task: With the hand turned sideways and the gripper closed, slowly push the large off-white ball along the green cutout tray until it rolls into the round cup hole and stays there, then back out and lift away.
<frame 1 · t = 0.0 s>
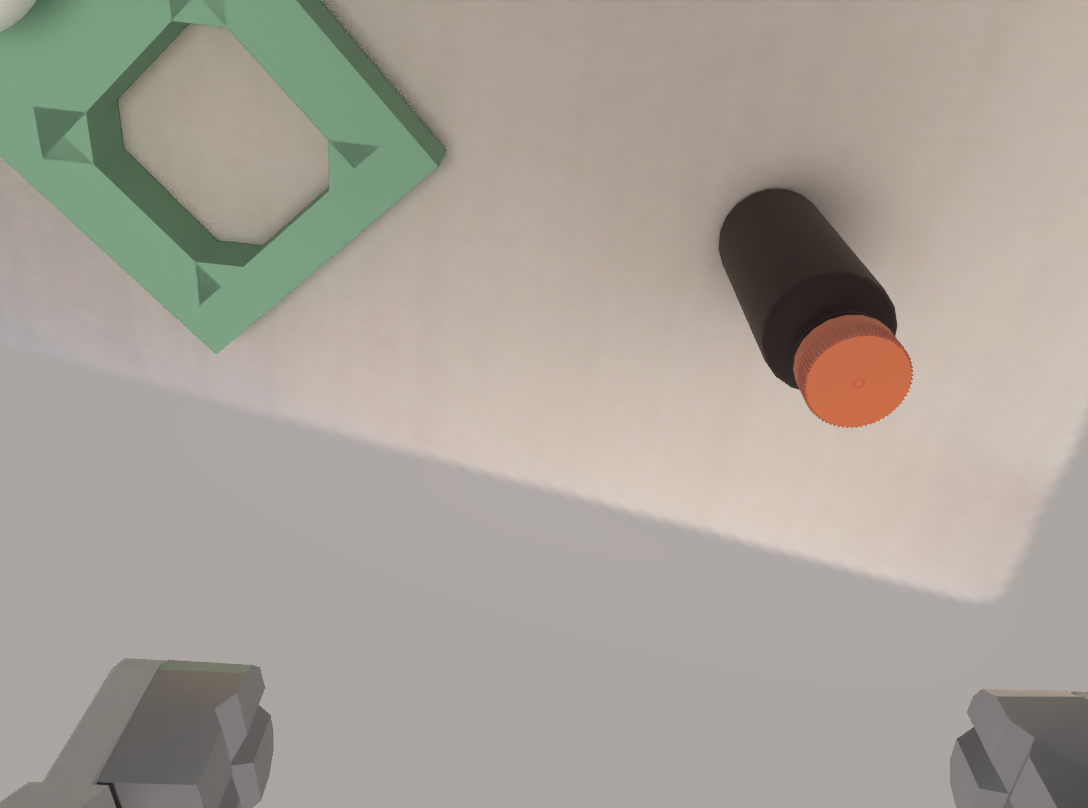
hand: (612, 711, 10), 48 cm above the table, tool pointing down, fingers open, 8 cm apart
bottle: (769, 237, 57), on the table
green cutout tray: (143, 43, 52), on the table
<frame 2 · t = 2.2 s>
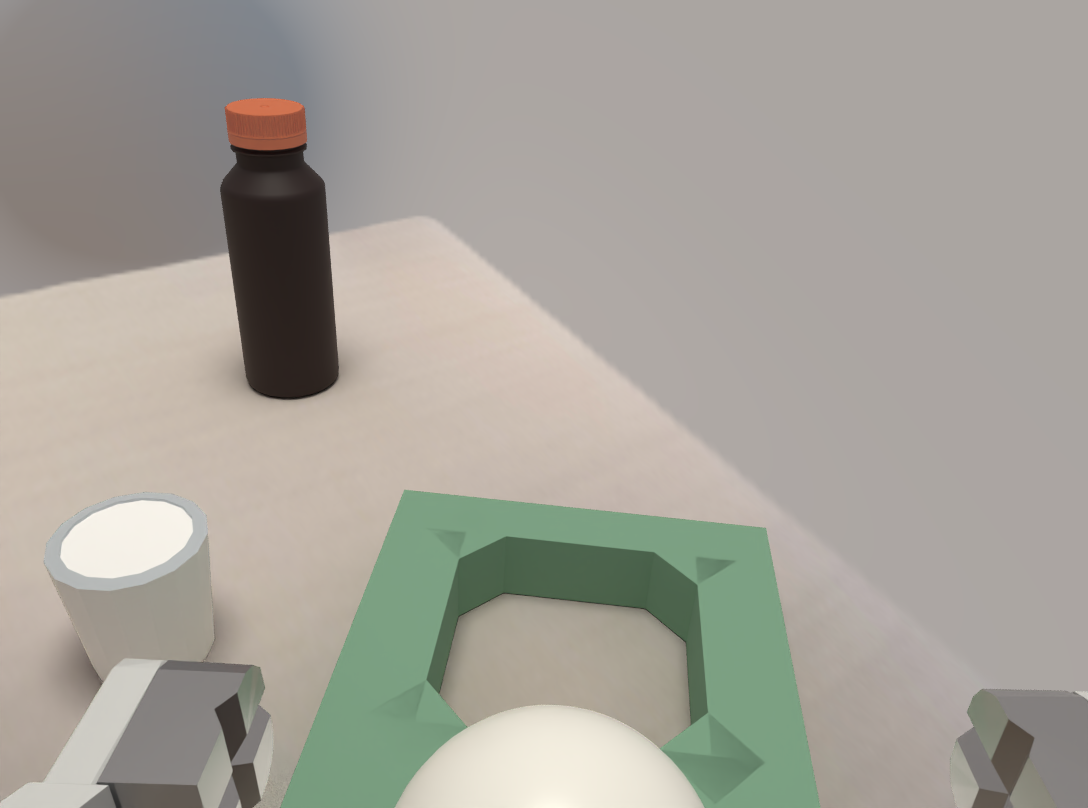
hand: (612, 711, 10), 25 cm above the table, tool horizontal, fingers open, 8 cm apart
white cup: (155, 647, 43), on the table
bottle: (294, 379, 66), on the table
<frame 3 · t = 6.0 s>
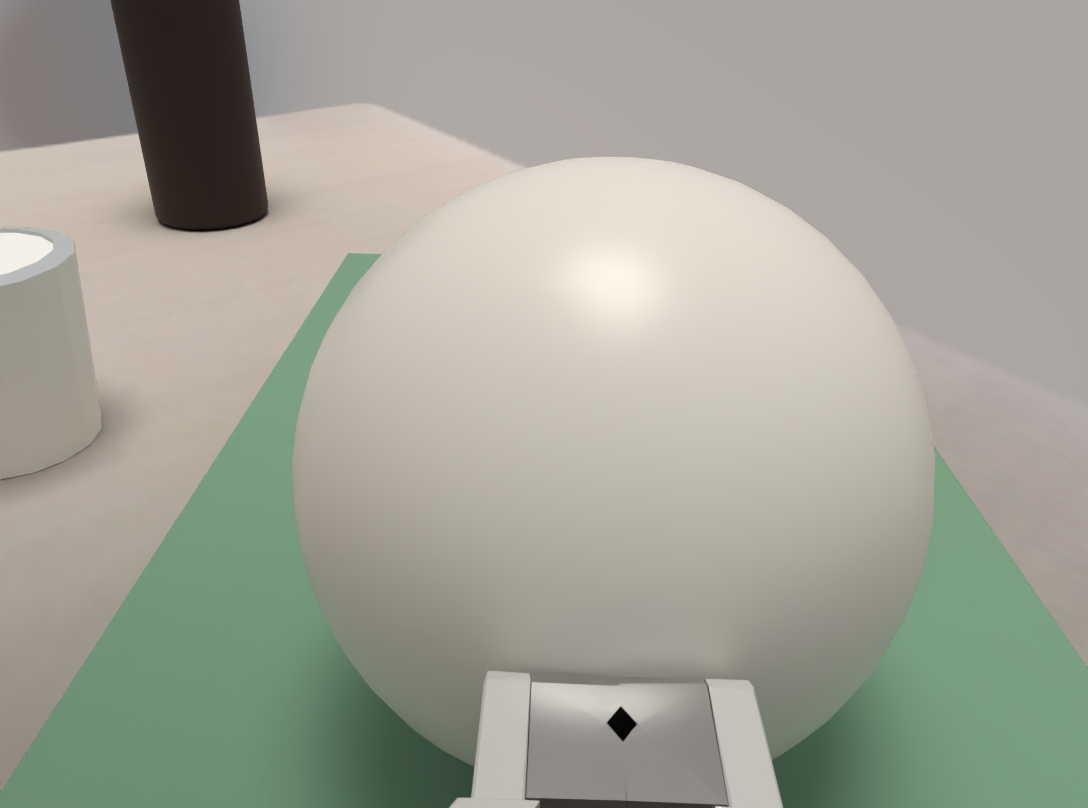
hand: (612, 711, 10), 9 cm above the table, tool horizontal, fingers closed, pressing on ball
white cup: (20, 442, 32), on the table
bottle: (214, 218, 55), on the table
green cutout tray: (578, 574, 26), on the table
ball: (605, 469, 14), point 9 cm above the table, touching green cutout tray, gripper
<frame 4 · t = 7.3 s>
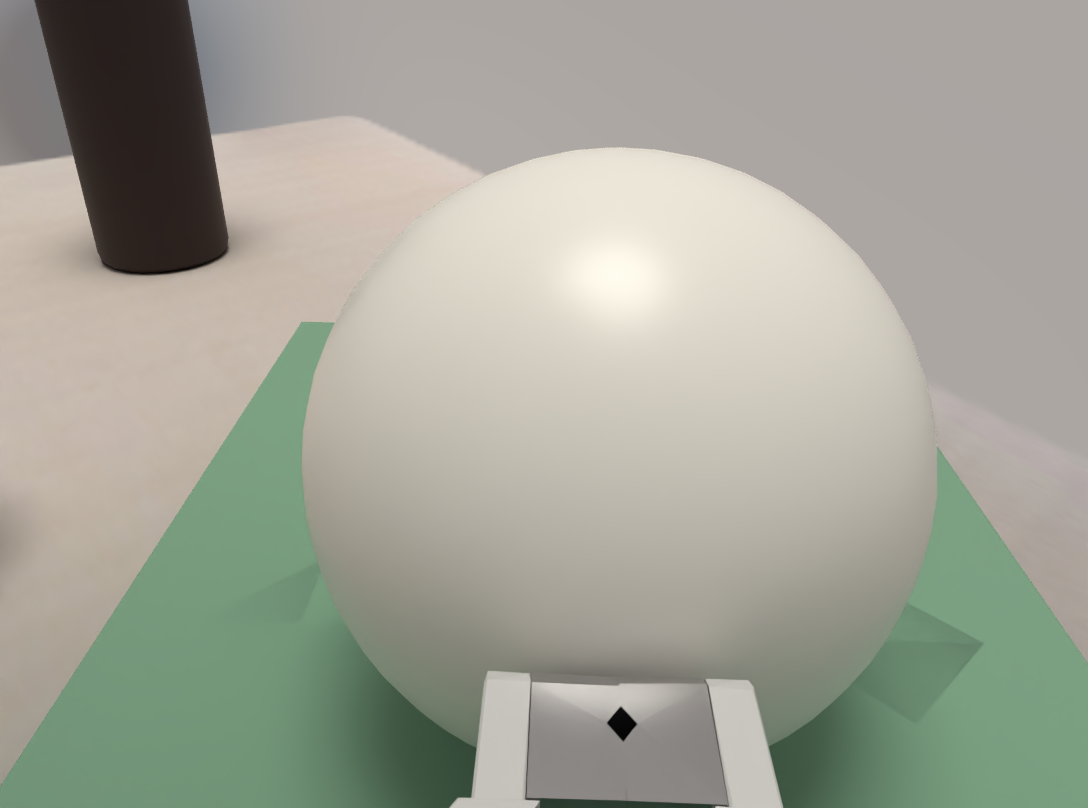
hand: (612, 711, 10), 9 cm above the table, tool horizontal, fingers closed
bottle: (167, 256, 48), on the table
green cutout tray: (582, 799, 19), on the table
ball: (610, 457, 14), point 9 cm above the table, tilted 91°, touching green cutout tray
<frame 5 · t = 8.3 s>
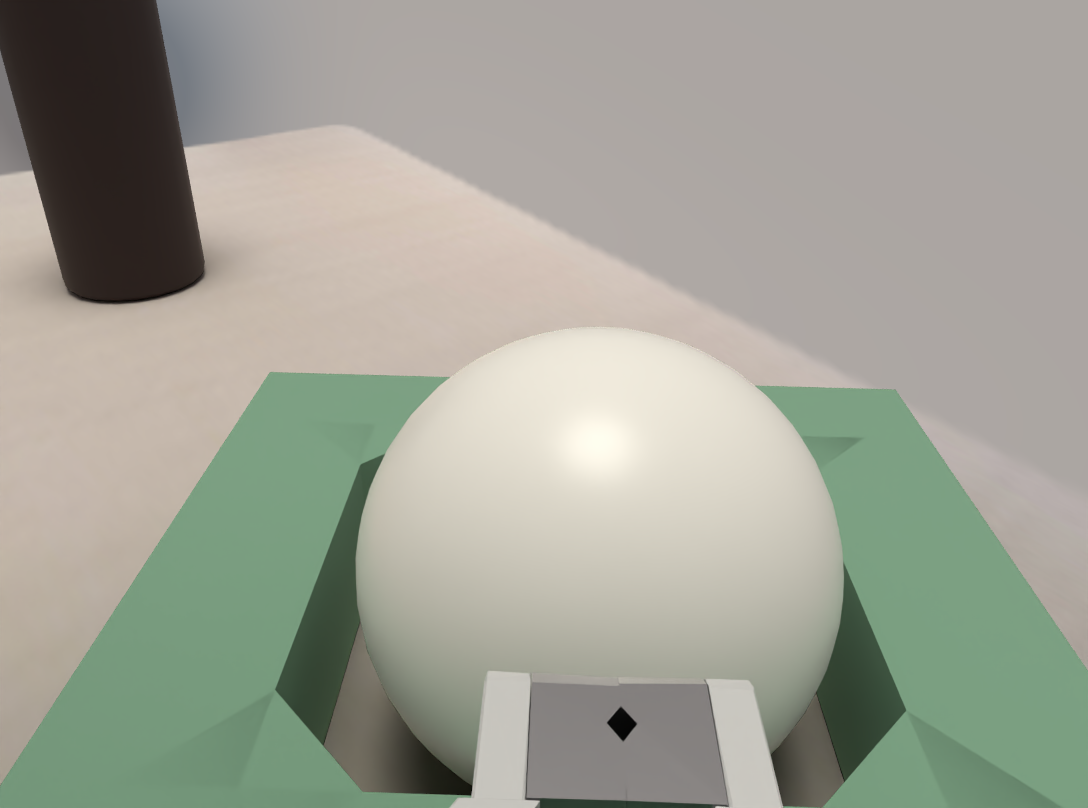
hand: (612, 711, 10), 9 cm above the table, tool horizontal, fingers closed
bottle: (138, 282, 45), on the table
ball: (595, 562, 18), point 5 cm above the table, tilted 178°
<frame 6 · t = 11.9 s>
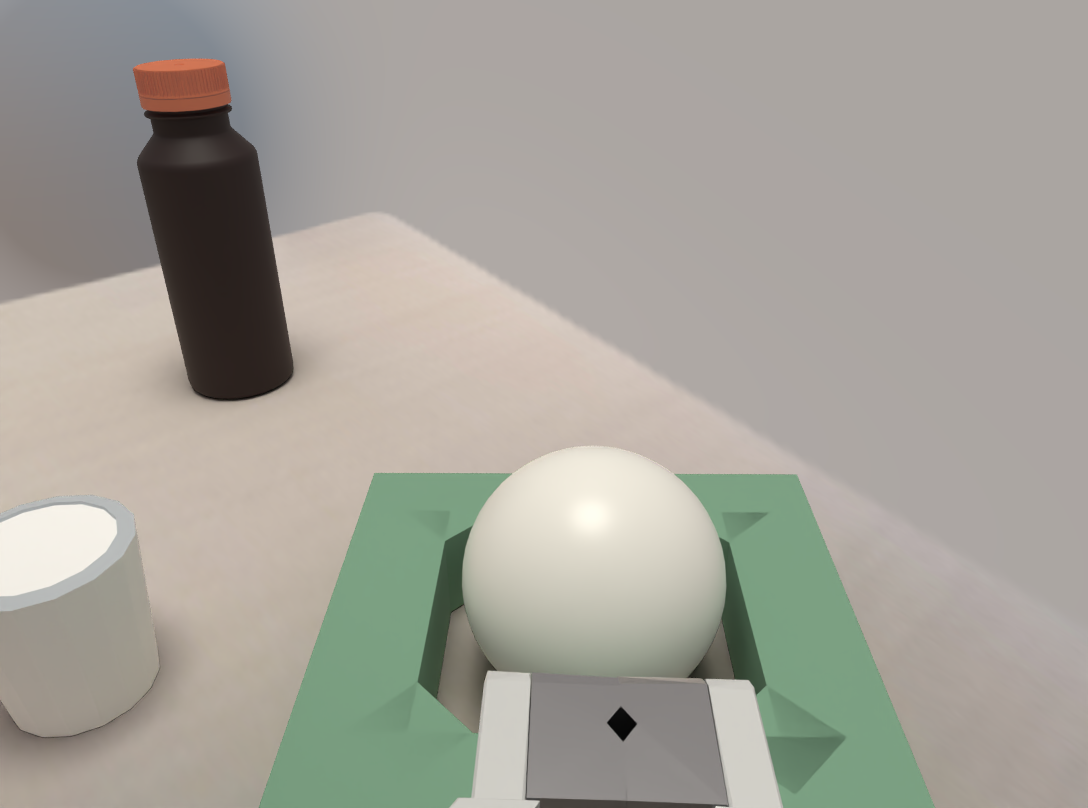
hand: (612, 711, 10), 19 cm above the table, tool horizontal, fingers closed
white cup: (88, 684, 35), on the table
bottle: (243, 380, 59), on the table
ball: (592, 576, 33), point 5 cm above the table, tilted 160°
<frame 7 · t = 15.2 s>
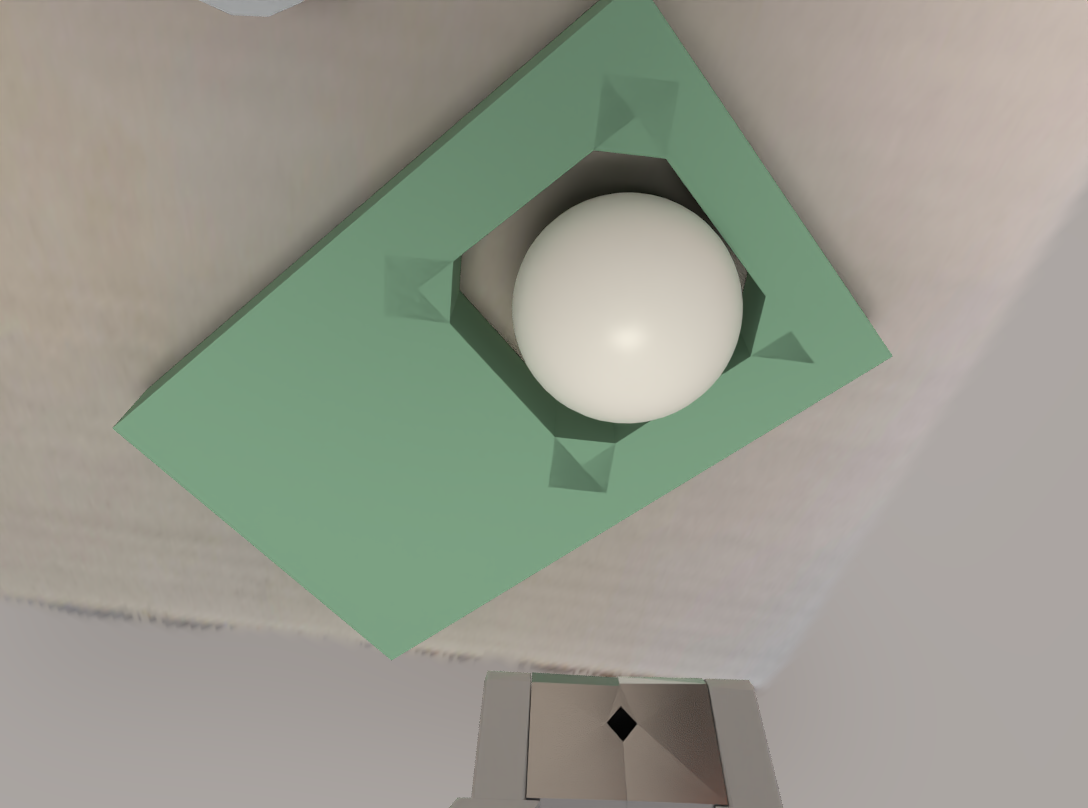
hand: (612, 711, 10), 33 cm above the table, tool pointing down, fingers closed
green cutout tray: (494, 356, 45), on the table
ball: (626, 309, 38), point 5 cm above the table, tilted 156°
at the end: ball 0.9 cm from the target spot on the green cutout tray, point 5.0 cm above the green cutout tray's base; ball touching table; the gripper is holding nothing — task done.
